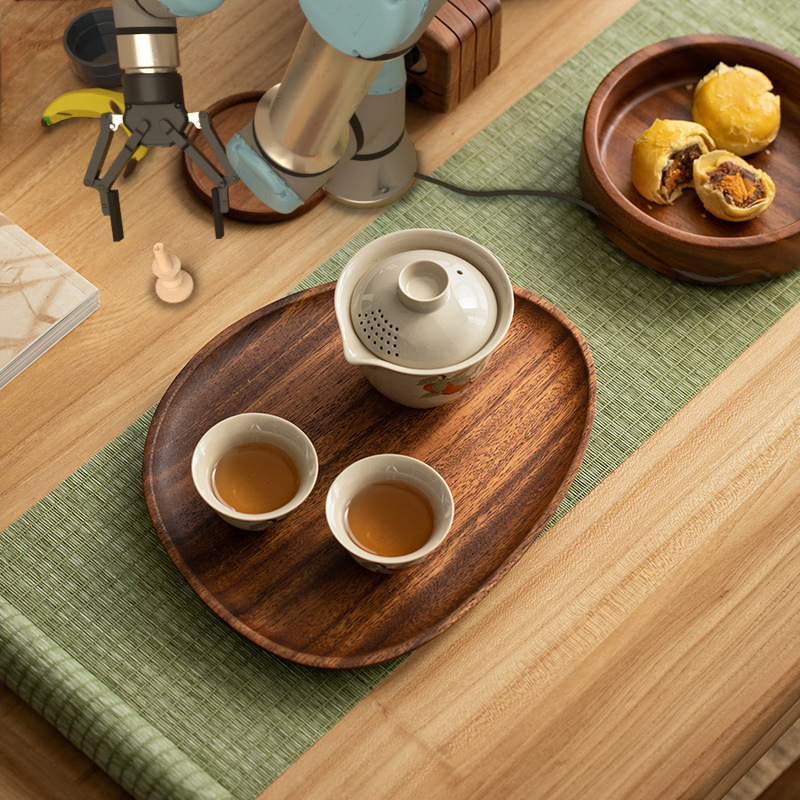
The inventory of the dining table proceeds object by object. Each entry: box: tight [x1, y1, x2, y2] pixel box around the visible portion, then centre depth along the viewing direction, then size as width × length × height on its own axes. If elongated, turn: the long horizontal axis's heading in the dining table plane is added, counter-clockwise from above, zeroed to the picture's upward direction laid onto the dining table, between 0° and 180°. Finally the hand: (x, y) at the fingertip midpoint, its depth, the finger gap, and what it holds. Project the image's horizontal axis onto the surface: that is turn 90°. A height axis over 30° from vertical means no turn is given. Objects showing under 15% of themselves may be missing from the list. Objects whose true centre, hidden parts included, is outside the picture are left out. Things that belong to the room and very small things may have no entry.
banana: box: [40, 87, 150, 179], centre depth 138 cm, size 5×17×15 cm
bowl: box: [61, 6, 125, 88], centre depth 143 cm, size 12×12×5 cm
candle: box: [151, 242, 195, 304], centre depth 123 cm, size 5×5×10 cm
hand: (169, 238), depth 124 cm, fingers open, 13 cm apart
